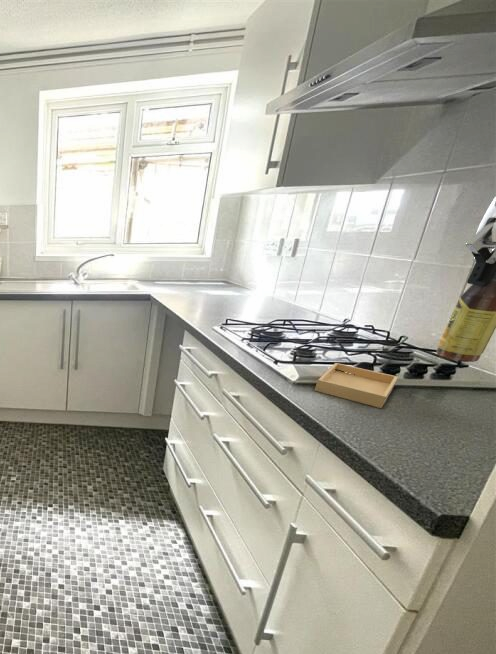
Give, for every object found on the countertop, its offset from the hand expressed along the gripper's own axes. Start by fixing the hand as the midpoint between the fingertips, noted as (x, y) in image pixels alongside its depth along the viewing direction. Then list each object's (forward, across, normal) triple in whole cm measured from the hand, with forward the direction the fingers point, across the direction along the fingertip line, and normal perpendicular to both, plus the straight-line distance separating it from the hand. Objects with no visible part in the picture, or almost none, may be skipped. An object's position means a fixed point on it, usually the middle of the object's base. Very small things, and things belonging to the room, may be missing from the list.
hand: (491, 283), depth 77 cm
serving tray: (+27, -6, +12) cm, 31 cm away
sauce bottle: (+15, 0, 0) cm, 15 cm away
